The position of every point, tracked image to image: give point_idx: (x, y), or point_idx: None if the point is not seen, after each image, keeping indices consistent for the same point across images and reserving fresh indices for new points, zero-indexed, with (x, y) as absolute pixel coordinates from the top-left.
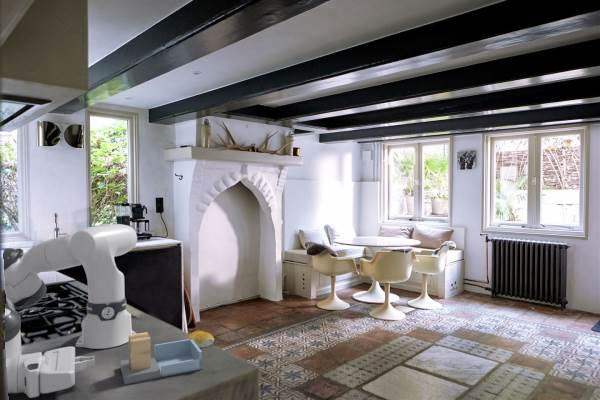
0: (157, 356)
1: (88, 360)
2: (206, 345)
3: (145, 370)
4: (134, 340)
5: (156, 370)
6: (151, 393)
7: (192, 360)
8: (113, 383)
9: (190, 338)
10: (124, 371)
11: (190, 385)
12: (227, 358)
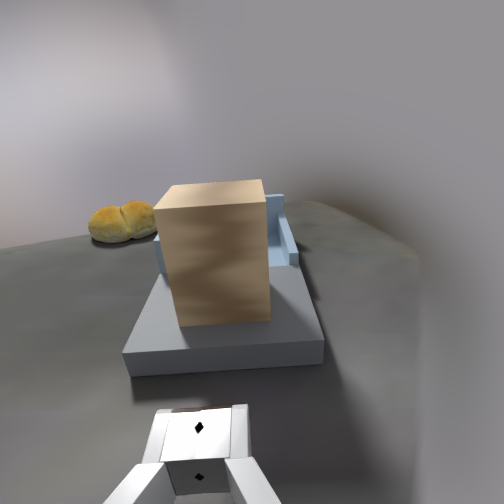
0: None
1: (244, 445)
2: None
3: (284, 289)
4: (257, 197)
5: (298, 270)
6: (412, 302)
7: (285, 218)
8: (293, 403)
9: (118, 223)
10: (262, 339)
11: (368, 248)
12: None
